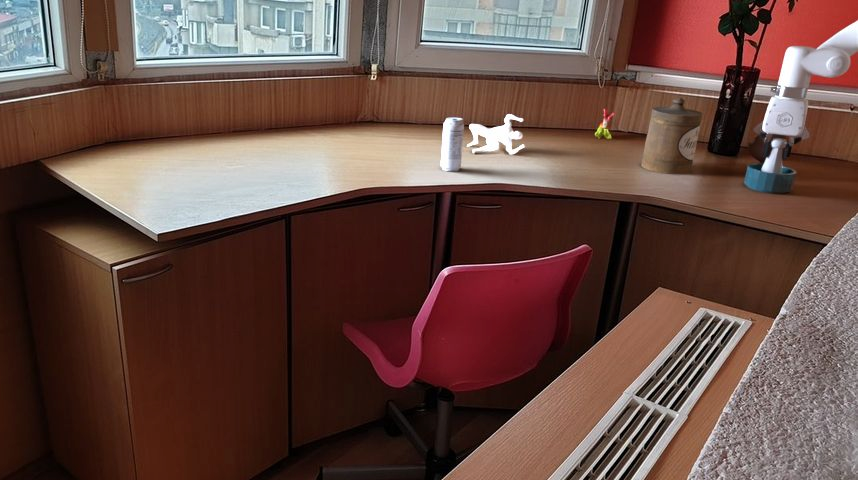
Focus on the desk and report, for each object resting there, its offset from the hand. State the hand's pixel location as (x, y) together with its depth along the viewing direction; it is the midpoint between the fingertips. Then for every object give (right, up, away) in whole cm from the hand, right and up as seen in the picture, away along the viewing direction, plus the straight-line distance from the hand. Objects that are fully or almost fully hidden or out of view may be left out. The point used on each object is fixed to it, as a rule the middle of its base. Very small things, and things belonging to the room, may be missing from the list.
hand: (775, 157), depth 205 cm
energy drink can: (-92, -2, +9) cm, 93 cm away
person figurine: (-75, +7, +34) cm, 83 cm away
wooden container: (-23, -1, +21) cm, 31 cm away
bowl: (0, -9, +3) cm, 9 cm away
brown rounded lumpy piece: (+6, -3, +19) cm, 20 cm away
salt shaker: (0, -7, +3) cm, 8 cm away
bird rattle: (-31, +16, +61) cm, 71 cm away
